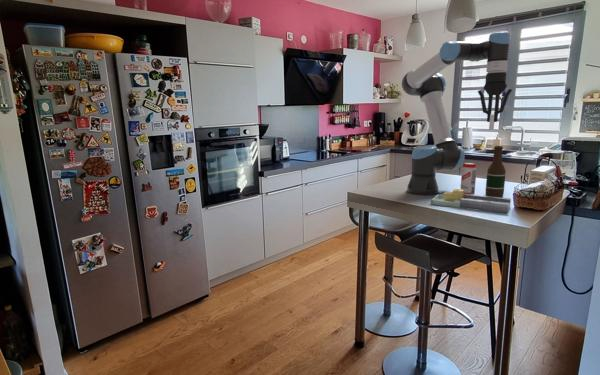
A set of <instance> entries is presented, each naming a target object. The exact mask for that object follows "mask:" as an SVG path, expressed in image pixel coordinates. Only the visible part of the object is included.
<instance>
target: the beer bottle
mask: <svg viewBox="0 0 600 375" xmlns="http://www.w3.org/2000/svg"><path fill="white" fill-rule="evenodd" d="M493 149H494V151H493V156H492V157H493V158H492V160H491V161H492V162H491V163H490V165H488V167H487V172H486V181H485V182H486V183H485V194H484V196H491V197H501V198H504V194H505V193H504V192H505V182H506V168H505V166H504V164H503V149H504V147H503V146H502V145H494V146H493Z"/></svg>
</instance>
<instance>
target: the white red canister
mask: <svg viewBox="0 0 600 375" xmlns="http://www.w3.org/2000/svg"><path fill="white" fill-rule="evenodd" d="M476 164H477V163H476V162H471V161H470V162H467V161H466V162H463V164H462V165H461V179H460V189H464V195H465V194H472V195H476V194H475V192H476V191H475V190H476V182H477V181H476V180H477V165H476Z"/></svg>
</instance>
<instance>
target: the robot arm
mask: <svg viewBox="0 0 600 375" xmlns="http://www.w3.org/2000/svg"><path fill="white" fill-rule="evenodd" d="M488 36H489V37H488V40H485V41H456V40H451V41H446V42H444V43H442V45H441V47H440V48H439V52H438V53H436V54H435V55H434V56H432V57H431V58H429V59H428V60H427V61H426V62H424V63H423V64H421V65H420V66H418V67H417V68H416V69H411V70H410V71H408V72H407V73H406V74H404V76H403V78H402V80H401V88H402V90H403V92H404V93H405V94H407V95H409V96H416V97H418V96H419V98H420V102H422V103H424V107H425V111H426V114H427V118H428V122H429V126H430V129H431V135H432V139H433V142H434V144H427V145H426V144H425V145H419V146H416V147H414V148H413V149H412V153H411V176H410V178H409V181H408V184H407V188H406V191H407V193H410V194H413V195H421V196H427V195H428V196H433V195H438V193H439V185H438V183H437V179H436V174H437V173H436V172H437V171H448V170H450V171H451V170H457V169H459V168H460V167H462V166H463V165H464V161H465V158H466V157H465V156H466V155H465V154H466V153H465V150H464V148H463V147H461V146H459V145H458V144H457V140H455V139H453V138H452V133H451V131H450V127H449V126H450V125H449V123H448V119H447V116H446V115H447V114H446V111H445V107H444V103H443V99H442V97H443V95H444V92H445V90H446V85H447V82H446V78H444V75H443V74H440V72H442V71H444V70H445V69H447V68H448V67H450V66H451V65H453V64H454V63H456V62H457V61H458V62H459V61H469V62H479V61H484V60H486V70H485V71H486V74H485V81H484V82H485V83H484V85H483V88H481V89H480V90H477V93H478V95H479V98H480V103H481V109H482V113H483V114H486V117H487V118H486V122H487V123H489V124H488V131H494V130H495V123H497V122H498V115H499V114H501V113H503V112H504V110H505V108H506V104H507V102H508V99H509V96H510V94H511V93H512V92H513V89H512V88H509V87H508V86H507V76H508V75H507V74H508V73H507V72H506V71H508V63H509V50H510V43H511V35H510V32H509V31H499V32H498V31H497V32H492V33H490V34H489V35H488ZM504 92H505V94H504V97H503V100H502V103H501V105H500V97H501V95H502V94H503V93H504ZM485 93H486V94H487V95H488V102H487V103H486V98H485ZM494 96H495V102H494V110H492V109H493V98H494ZM486 104H487V105H486ZM492 111H494V112H493V113H494V114H493V113H492Z"/></svg>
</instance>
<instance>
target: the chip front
mask: <svg viewBox="0 0 600 375" xmlns="http://www.w3.org/2000/svg"><path fill="white" fill-rule="evenodd" d="M452 192H453V200H460V199H461V198H464V189H461V188H458V189H457V188H454V189H453V190H452Z"/></svg>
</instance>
